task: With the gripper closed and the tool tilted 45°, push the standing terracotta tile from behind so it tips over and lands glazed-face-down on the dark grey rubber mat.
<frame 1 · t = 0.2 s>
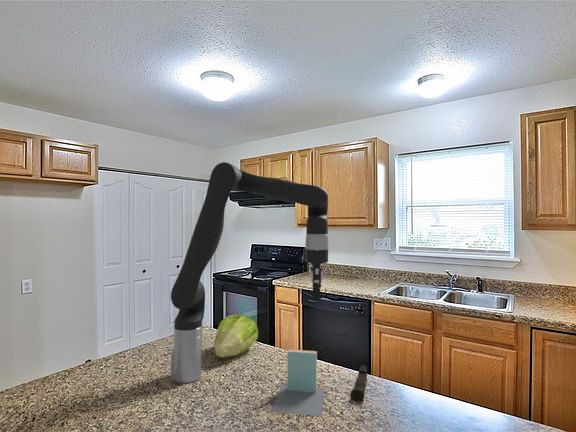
hand: (316, 297, 110), 29 cm above the countertop, tool pointing down, fingers open, 8 cm apart
hand tool: (359, 389, 109), on the countertop
mat: (299, 400, 100), on the countertop
lettuce: (231, 354, 137), on the countertop
tile: (302, 389, 106), point 1 cm above the countertop, touching mat
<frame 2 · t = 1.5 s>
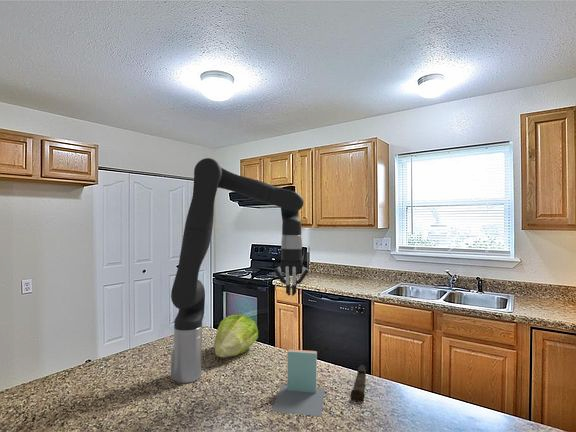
hand: (291, 295, 122), 27 cm above the countertop, tool pointing down, fingers closed
nothing on the countertop moved.
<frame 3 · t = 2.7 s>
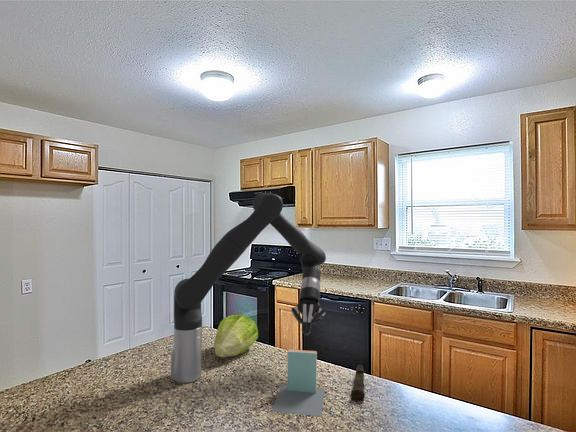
hand: (306, 334, 116), 15 cm above the countertop, tool tilted 45°, fingers closed
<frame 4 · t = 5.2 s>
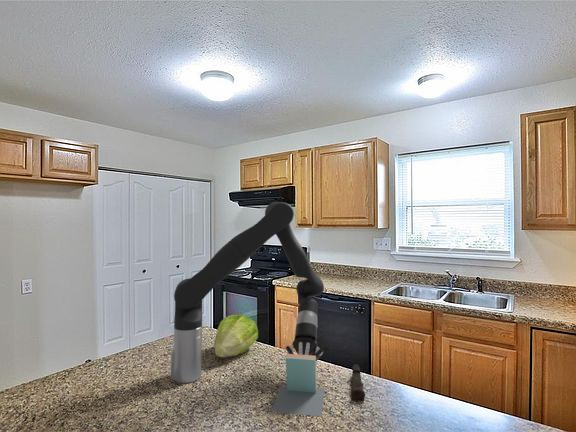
hand: (302, 377, 106), 4 cm above the countertop, tool tilted 45°, fingers closed
tile: (302, 389, 106), point 1 cm above the countertop, tilted 18°, touching mat
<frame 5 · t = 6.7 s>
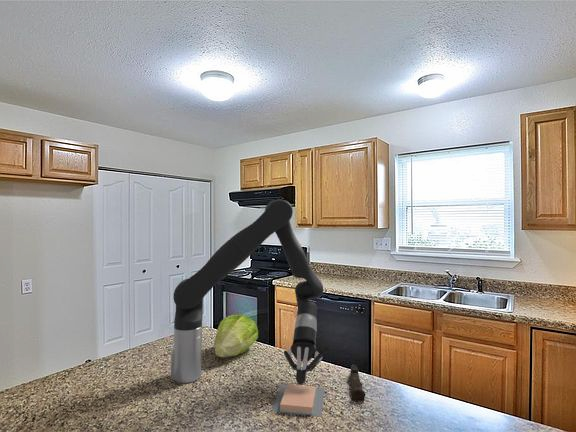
hand: (300, 383, 102), 4 cm above the countertop, tool tilted 45°, fingers closed
tile: (301, 388, 104), point 2 cm above the countertop, tilted 90°, touching mat
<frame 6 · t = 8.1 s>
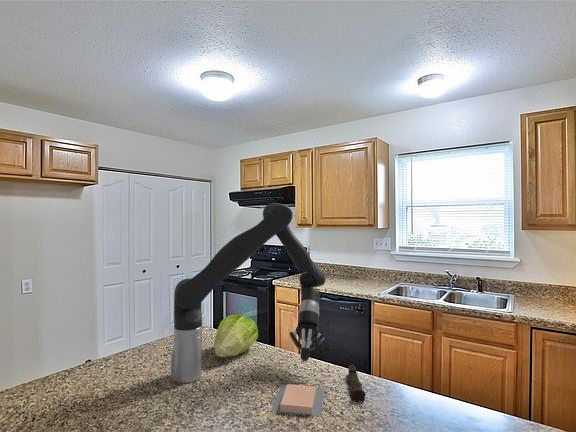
hand: (304, 360, 114), 7 cm above the countertop, tool tilted 45°, fingers closed
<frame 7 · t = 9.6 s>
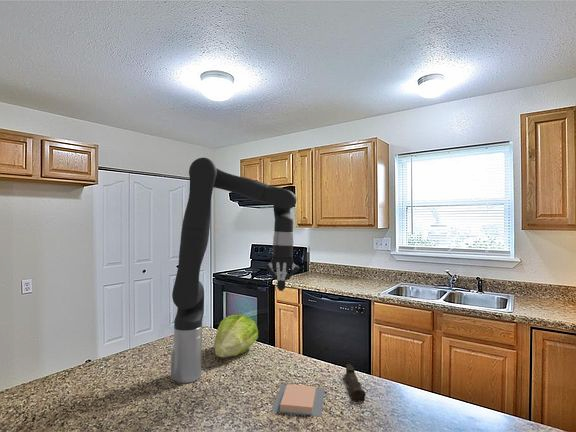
hand: (281, 290, 125), 28 cm above the countertop, tool pointing down, fingers closed
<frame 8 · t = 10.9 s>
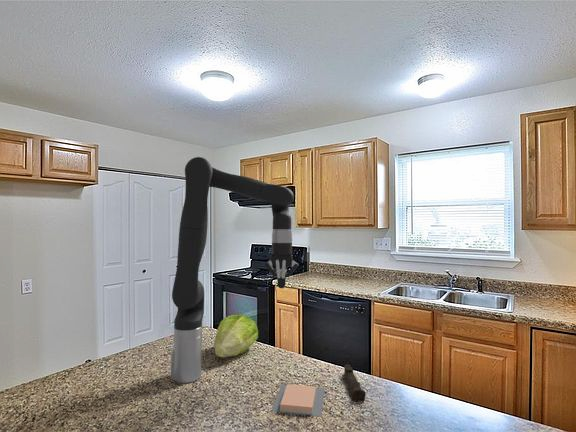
hand: (281, 288, 125), 29 cm above the countertop, tool pointing down, fingers closed
at the end: tile tilted 90°; tile inside the target area on the mat (4.8 cm from its centre), point 1.6 cm above the mat's base; tile point 1.6 cm above the countertop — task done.
